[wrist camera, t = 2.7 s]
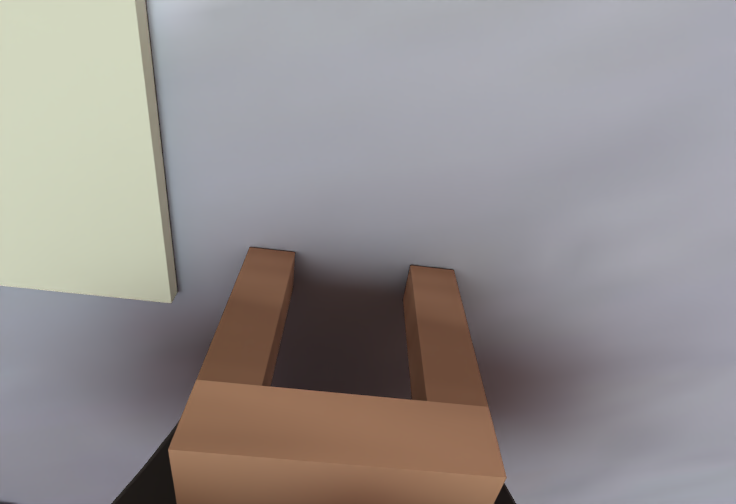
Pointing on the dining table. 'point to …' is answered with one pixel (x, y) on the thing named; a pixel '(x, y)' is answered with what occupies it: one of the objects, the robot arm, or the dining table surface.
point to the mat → (81, 152)
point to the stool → (335, 410)
